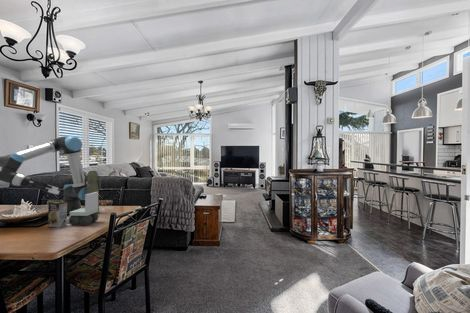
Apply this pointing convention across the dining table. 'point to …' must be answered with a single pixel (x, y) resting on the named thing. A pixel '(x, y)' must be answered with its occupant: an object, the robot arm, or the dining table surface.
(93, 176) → the thermos
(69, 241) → the dining table surface
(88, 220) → the cart
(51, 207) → the coffee box
